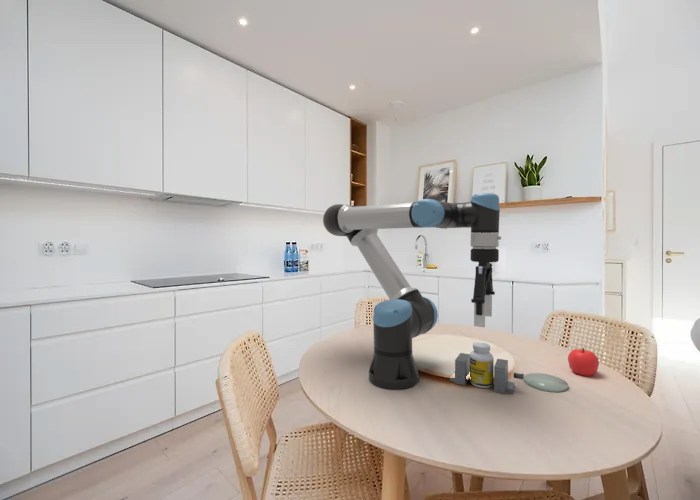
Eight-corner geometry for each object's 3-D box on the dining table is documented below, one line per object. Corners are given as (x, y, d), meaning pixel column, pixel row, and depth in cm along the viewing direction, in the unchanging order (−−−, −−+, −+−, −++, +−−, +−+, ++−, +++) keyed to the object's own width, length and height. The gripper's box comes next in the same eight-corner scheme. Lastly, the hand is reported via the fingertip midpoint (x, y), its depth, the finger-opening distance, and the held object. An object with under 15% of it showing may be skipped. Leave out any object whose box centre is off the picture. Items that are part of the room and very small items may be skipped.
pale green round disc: (522, 386, 94) (522, 384, 94) (525, 373, 103) (525, 370, 103) (569, 395, 88) (569, 392, 88) (567, 380, 98) (567, 377, 98)
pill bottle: (465, 381, 98) (464, 342, 98) (483, 377, 100) (482, 340, 100) (479, 390, 92) (479, 349, 92) (498, 386, 94) (498, 346, 94)
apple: (567, 375, 101) (567, 349, 101) (567, 366, 108) (567, 342, 108) (600, 380, 97) (600, 353, 97) (598, 371, 104) (598, 346, 103)
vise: (449, 382, 98) (448, 358, 98) (454, 373, 104) (454, 351, 103) (522, 397, 88) (522, 371, 87) (524, 387, 94) (524, 362, 93)
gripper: (492, 249, 82) (491, 333, 83) (503, 246, 104) (502, 313, 105) (461, 249, 86) (460, 329, 87) (478, 246, 107) (477, 310, 108)
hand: (483, 320), depth 96 cm, fingers open, 13 cm apart
